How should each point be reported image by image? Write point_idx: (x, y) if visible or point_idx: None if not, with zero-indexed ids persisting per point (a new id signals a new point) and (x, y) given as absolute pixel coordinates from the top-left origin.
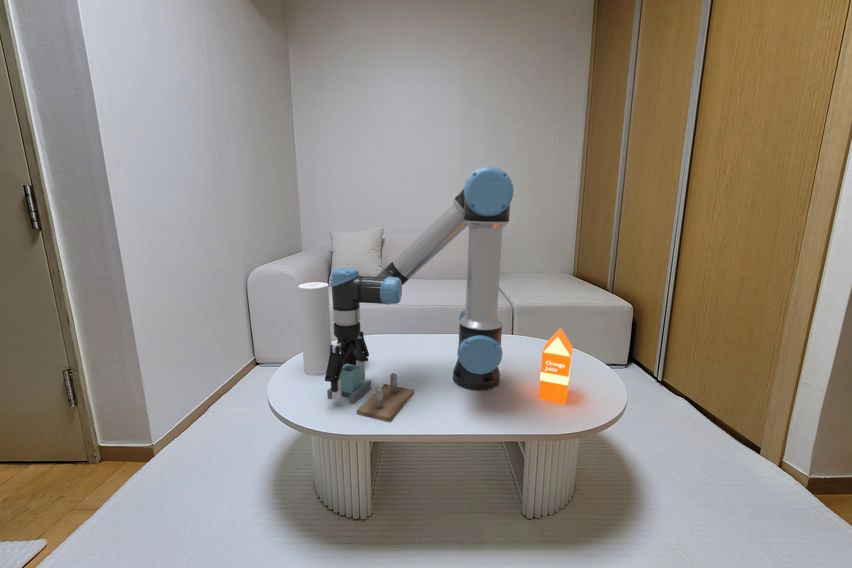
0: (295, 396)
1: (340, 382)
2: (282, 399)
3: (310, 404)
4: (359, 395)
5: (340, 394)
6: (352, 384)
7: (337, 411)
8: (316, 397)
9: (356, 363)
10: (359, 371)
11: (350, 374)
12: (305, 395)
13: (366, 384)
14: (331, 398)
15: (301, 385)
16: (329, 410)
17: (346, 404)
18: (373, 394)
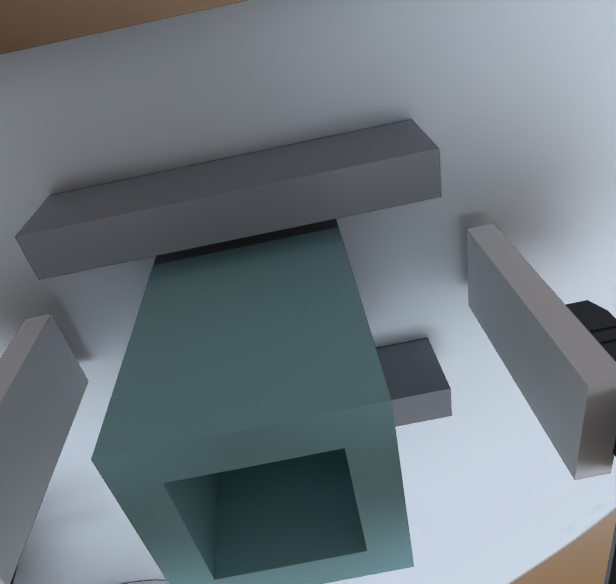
0: (499, 505)
1: (582, 358)
2: (556, 523)
3: None
4: (292, 157)
5: (515, 264)
6: (341, 285)
7: (582, 154)
8: (455, 421)
9: (16, 553)
10: (148, 394)
11: (390, 397)
12: (464, 480)
13: (123, 215)
14: (422, 339)
15: None
16: (587, 224)
17: (444, 174)
18: (180, 11)
